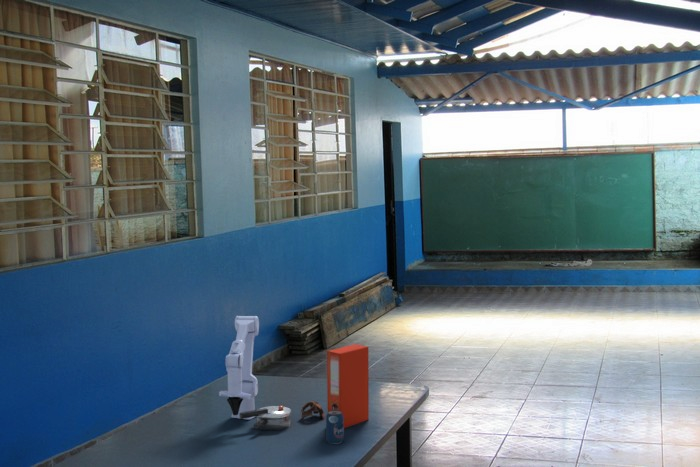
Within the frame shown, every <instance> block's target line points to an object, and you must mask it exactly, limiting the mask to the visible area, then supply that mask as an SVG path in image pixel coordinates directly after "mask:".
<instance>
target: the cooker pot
mask: <svg viewBox="0 0 700 467" xmlns="http://www.w3.org/2000/svg"><path fill="white" fill-rule="evenodd" d="M287 427H288V428H290V427H291V414H290V415H289V416H287V417H283V418H277V419H265V418H260V417H258V416H256V422H255V423H254V424H253V429H259V428H260V430H262V429H263V431H270V430H273V431H281V430H280V429H282V430H285V429H287ZM284 428H285V429H284Z"/></svg>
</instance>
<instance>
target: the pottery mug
mask: <svg viewBox="0 0 700 467" xmlns="http://www.w3.org/2000/svg"><path fill="white" fill-rule="evenodd" d="M308 407H310V408H308ZM300 413H301V418H302V419H304V418H306V417H310V416H311V417H313V414H316V415H317V414H319V416H320V417H322V419H323V420H326V415H325V412H324V410H323V408H322V406H321V405H320V404H319V402H317V401H316V400H314V401H313V400H312V401H309V402H307V403H306V404H304V405H303V406H302V407H301V409H300Z"/></svg>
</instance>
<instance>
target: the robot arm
mask: <svg viewBox="0 0 700 467" xmlns="http://www.w3.org/2000/svg"><path fill="white" fill-rule="evenodd" d="M234 328H235V331H236V337H235V340H233V341H232V343H231V346H230V350H229V352H228V354H227V355H226V356H225V359H224V360H225V362H224V363H225V368H226V373H227V390H220V391H218V396H219V397H226V398H227V397H228V398H227V399H226V401H227V403H228V404H229V406H230V409H231V418H233V419H239V420H240V419H241V418H240V414H239V413H242V412H247V411H253V410H256V409H255V408H256V407H255V397H256V396H257V395H258V392H259V385H258V382H259V381H258V379H257V377H256V376H255V375H254V374H253V358H254V345H255V344H254V342H255V338H256V337H257V336H259V331H260V330H259V329H260V320H259V317H258V316H257V315H246V316H245V315H236V316H235V318H234ZM255 417H256V418H257V416H254V417H249V418H243V419H241V420H246V421H247V420H252V419H254V418H255Z"/></svg>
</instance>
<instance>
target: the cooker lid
mask: <svg viewBox="0 0 700 467" xmlns="http://www.w3.org/2000/svg"><path fill="white" fill-rule="evenodd" d="M239 414H240V418H241V420H244V419H243V418H249V417H254V416H256V417H257V416H258V417H260V418H265V419H277V418H283V417H287V416H289V415H290V416H291V415H292V409H291V408H289V407H287V406H284V405H268V406H264V407H260V408H258V409H255V410H253V411H247V412H242V413H239ZM254 418H255V417H254Z"/></svg>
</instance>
